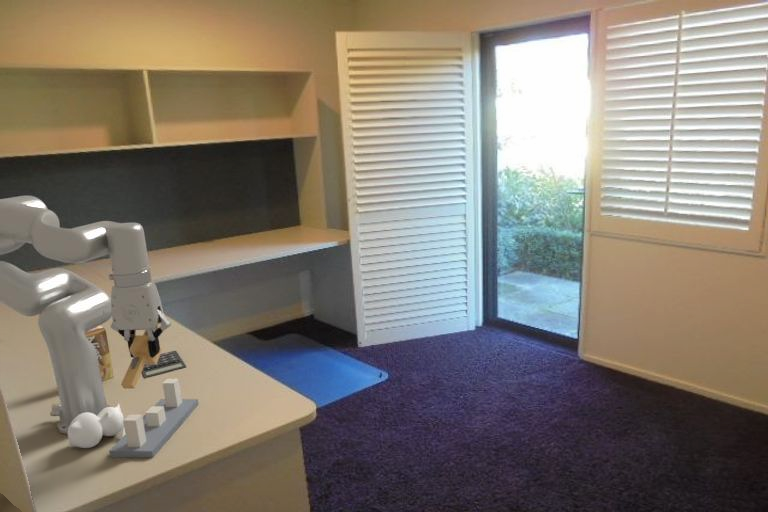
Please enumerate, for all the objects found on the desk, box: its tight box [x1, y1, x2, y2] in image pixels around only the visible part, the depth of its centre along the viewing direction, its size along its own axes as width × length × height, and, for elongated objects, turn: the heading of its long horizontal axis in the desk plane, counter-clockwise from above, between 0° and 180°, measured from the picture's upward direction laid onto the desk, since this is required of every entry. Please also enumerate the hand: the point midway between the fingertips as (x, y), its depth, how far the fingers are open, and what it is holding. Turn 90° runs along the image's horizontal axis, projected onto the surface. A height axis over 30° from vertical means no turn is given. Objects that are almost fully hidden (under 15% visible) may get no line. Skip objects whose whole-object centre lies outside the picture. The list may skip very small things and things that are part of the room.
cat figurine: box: [67, 403, 125, 449], centre depth 126 cm, size 9×11×12 cm
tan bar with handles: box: [120, 312, 166, 390], centre depth 128 cm, size 4×20×6 cm
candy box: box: [85, 325, 115, 382], centre depth 158 cm, size 9×4×15 cm, turn 137°
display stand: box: [108, 378, 200, 458], centre depth 131 cm, size 10×23×8 cm, turn 174°
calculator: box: [141, 350, 187, 379], centre depth 169 cm, size 12×1×15 cm
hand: (145, 354), depth 127 cm, fingers closed on tan bar with handles, 4 cm apart
